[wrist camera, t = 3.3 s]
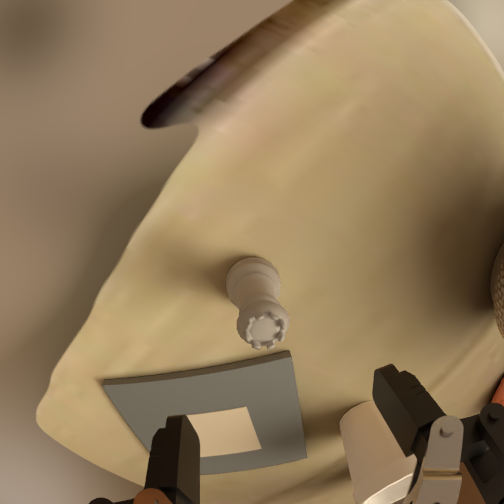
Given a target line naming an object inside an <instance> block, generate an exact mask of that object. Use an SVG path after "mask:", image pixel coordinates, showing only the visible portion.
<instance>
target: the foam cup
mask: <svg viewBox="0 0 504 504" xmlns="http://www.w3.org/2000/svg"><path fill="white" fill-rule="evenodd" d="M340 432H341V436H342V440H343V445H344V449H345V453H346V458H347V462H348V467H349V471H350V476H351V480H352V485H353V490H354V491H353V497H354V499H355V502H356V504H392V503H394V502H396V501H398V500H400V499H402V498H403V497H405V496H406V494H407V491H408V488H409V484H410V481H411V478H412V474H413V470H414V467H415V463H416V460H417V458H416V456H415V455H414V454H413V455H411V456H409V457H407V458H406V457H405V455H404V453H403V451H402V450H401V448H400V446H399V444H398V443H397V441H396V439H395V437H394V436H393V434H392V432H391V430H390V429H389V427H388V425H387V424H386V422H385V420H384V418H383V417H382V415H381V413H380V412H379V410H378V408H377V407H376V405H375V403H374V401H368V402H363V403H361V404H359V405H357V406H355V407H353V408H351V409H350V410H349V411H348V412H347V413H345V414H344V415H343V417H342V419H341V420H340Z"/></svg>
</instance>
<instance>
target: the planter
mask: <svg viewBox="0 0 504 504" xmlns="http://www.w3.org/2000/svg"><path fill="white" fill-rule="evenodd" d="M490 293H491V297H492V300H493V302H494V313H495V319H496V323H497V326H498V329H499V331H500V333H501V335H502V337H503V339H504V242H503V244H502V245H501V247H500V249H499V251H498V253H497V256H496V258H495V261H494V264H493V268H492V272H491V278H490Z"/></svg>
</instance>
